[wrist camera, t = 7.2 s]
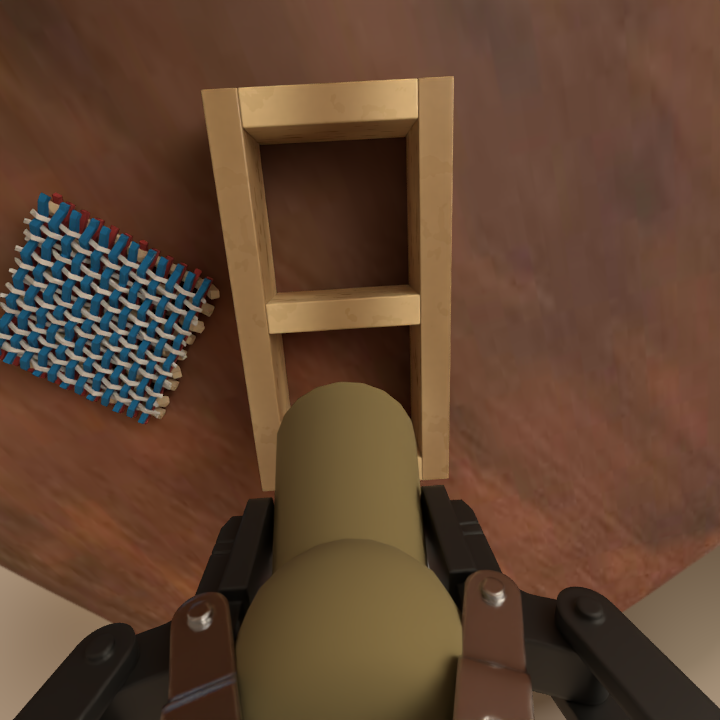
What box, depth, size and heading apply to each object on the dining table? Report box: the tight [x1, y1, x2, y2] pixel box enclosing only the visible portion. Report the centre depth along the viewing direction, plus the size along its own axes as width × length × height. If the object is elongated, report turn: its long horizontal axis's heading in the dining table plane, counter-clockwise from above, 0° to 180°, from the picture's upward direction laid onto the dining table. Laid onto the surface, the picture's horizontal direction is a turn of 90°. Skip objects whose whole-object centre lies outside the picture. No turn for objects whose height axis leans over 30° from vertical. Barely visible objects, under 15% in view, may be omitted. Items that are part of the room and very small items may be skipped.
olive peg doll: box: [235, 382, 462, 720], centre depth 12 cm, size 6×6×11 cm
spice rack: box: [201, 76, 454, 491], centre depth 23 cm, size 11×21×4 cm, turn 3°
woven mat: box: [0, 193, 220, 424], centre depth 24 cm, size 10×11×2 cm
